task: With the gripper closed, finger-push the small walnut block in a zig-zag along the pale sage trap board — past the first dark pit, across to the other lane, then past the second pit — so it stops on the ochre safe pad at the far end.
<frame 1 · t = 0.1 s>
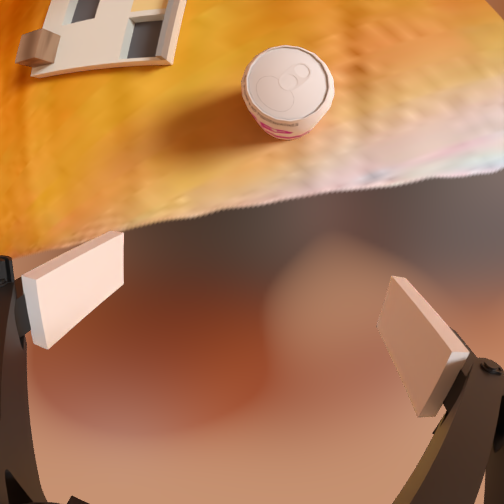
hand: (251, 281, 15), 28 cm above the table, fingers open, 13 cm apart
block: (46, 51, 35), point 2 cm above the table, touching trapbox
soda can: (286, 110, 38), on the table
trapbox: (106, 24, 35), on the table
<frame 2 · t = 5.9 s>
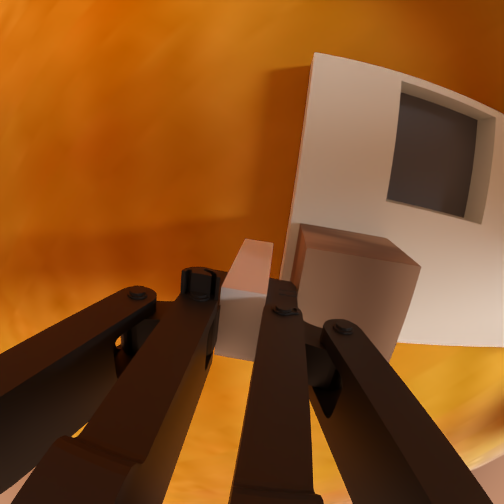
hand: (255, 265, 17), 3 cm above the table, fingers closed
block: (335, 273, 17), point 2 cm above the table, touching gripper, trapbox
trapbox: (471, 227, 18), on the table
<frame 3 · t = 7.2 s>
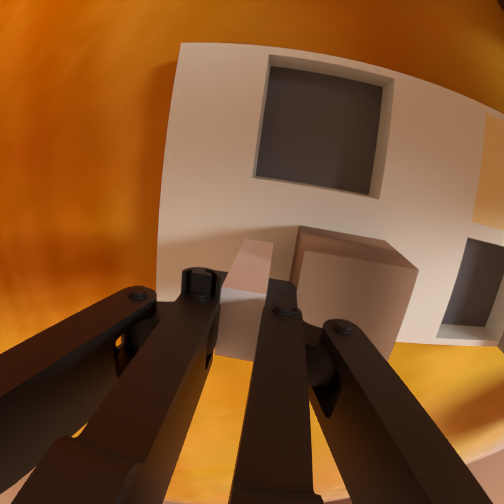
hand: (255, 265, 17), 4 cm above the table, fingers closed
block: (334, 275, 18), point 2 cm above the table, touching gripper, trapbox
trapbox: (380, 205, 19), on the table
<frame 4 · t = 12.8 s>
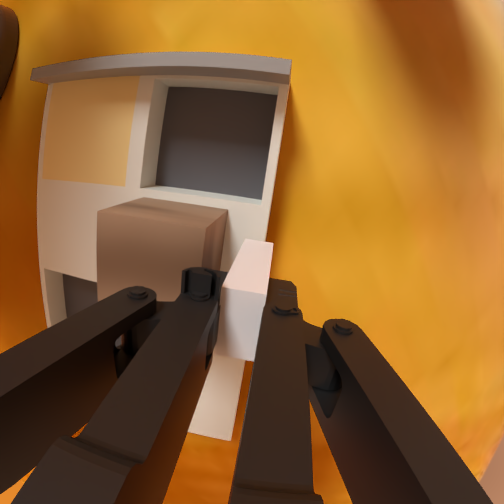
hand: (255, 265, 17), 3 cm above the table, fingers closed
block: (179, 245, 18), point 2 cm above the table, touching gripper, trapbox
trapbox: (144, 263, 21), on the table
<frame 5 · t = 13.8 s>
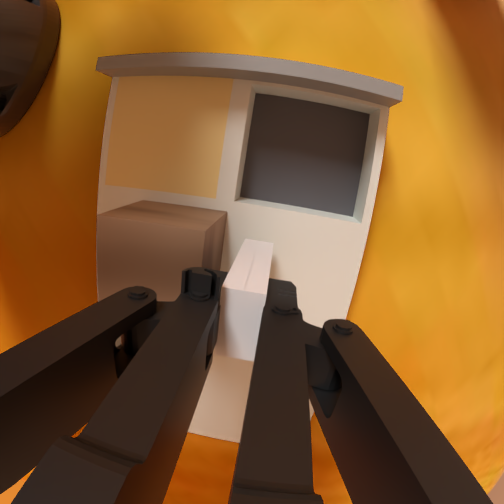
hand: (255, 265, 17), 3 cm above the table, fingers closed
block: (179, 248, 18), point 3 cm above the table, touching gripper, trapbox
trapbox: (221, 278, 21), on the table
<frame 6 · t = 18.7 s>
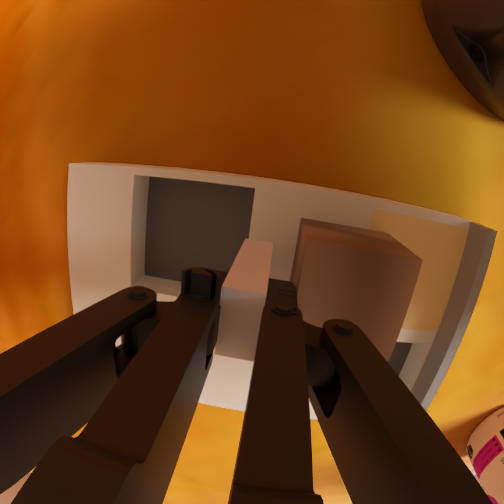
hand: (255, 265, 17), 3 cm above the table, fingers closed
block: (336, 268, 17), point 3 cm above the table, touching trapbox
soda can: (492, 426, 24), on the table
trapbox: (258, 300, 21), on the table
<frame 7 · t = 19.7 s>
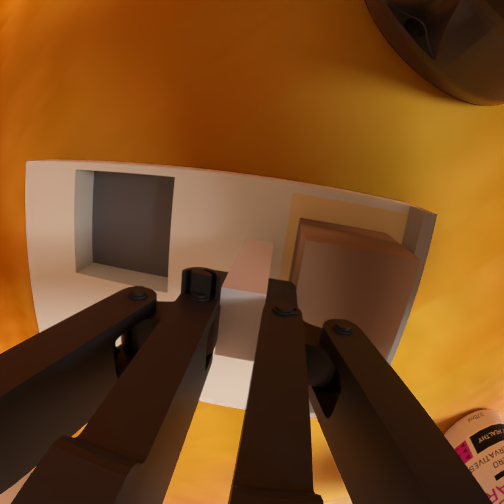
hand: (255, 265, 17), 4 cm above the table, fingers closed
block: (335, 268, 17), point 2 cm above the table, touching gripper, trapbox
soda can: (465, 431, 24), on the table
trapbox: (193, 287, 21), on the table
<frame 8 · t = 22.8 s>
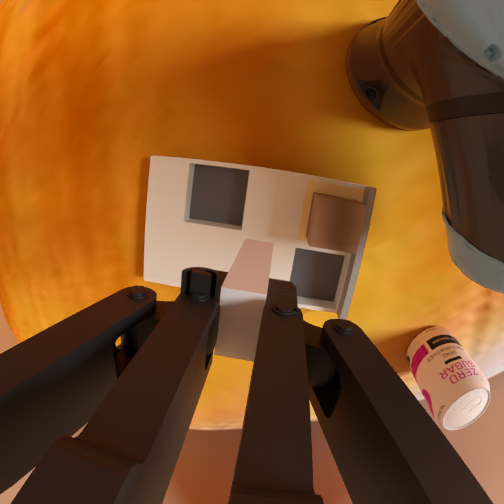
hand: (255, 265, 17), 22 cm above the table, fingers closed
block: (330, 217, 35), point 2 cm above the table, touching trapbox
soda can: (427, 346, 42), on the table
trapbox: (251, 231, 39), on the table
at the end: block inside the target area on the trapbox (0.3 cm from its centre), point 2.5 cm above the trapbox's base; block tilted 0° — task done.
